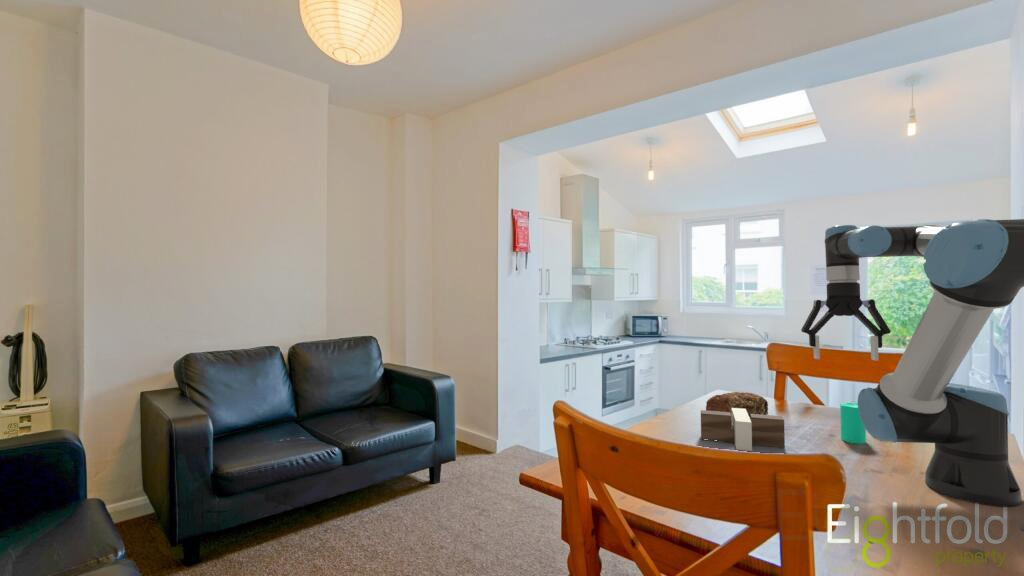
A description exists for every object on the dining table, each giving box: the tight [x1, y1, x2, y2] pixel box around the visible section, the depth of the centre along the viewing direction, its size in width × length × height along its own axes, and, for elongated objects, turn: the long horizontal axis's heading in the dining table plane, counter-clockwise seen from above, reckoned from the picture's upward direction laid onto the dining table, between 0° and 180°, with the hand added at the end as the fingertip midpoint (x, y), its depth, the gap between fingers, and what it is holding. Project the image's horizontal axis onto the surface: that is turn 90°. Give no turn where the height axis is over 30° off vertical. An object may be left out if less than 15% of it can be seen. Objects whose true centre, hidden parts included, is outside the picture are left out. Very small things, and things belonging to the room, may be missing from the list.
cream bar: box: [731, 408, 753, 452], centre depth 139 cm, size 16×4×8 cm, turn 159°
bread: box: [705, 391, 769, 426], centre depth 160 cm, size 19×11×10 cm, turn 114°
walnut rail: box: [700, 409, 786, 449], centre depth 139 cm, size 4×22×8 cm, turn 69°
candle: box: [839, 399, 867, 445], centre depth 139 cm, size 6×6×12 cm
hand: (845, 359), depth 129 cm, fingers open, 13 cm apart
